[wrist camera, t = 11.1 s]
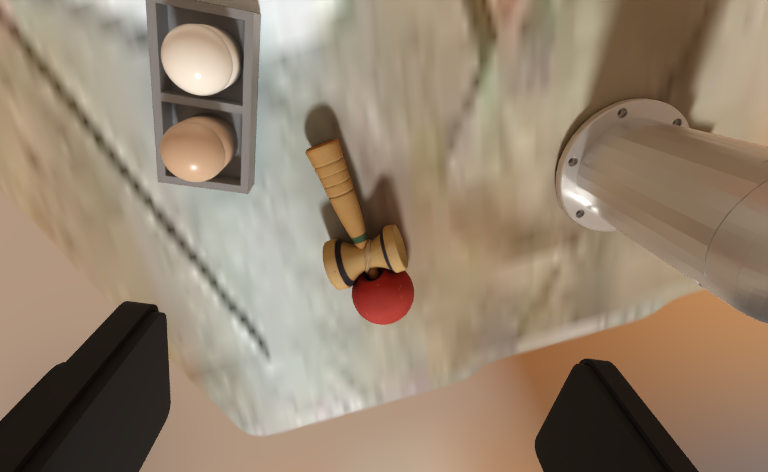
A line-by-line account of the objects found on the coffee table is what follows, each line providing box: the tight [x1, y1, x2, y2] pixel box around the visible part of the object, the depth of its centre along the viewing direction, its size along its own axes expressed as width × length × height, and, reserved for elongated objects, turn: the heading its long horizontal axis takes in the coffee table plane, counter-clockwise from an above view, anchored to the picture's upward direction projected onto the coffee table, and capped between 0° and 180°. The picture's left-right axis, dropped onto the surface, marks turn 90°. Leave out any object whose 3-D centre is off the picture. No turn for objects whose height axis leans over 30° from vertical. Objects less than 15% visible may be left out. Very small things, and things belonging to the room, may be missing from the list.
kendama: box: [306, 138, 414, 325], centre depth 36 cm, size 8×6×18 cm
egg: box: [161, 24, 244, 96], centre depth 27 cm, size 4×4×6 cm
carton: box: [146, 0, 261, 194], centre depth 29 cm, size 7×13×7 cm, turn 170°
